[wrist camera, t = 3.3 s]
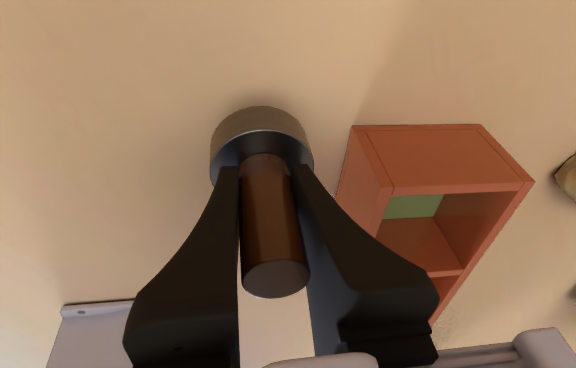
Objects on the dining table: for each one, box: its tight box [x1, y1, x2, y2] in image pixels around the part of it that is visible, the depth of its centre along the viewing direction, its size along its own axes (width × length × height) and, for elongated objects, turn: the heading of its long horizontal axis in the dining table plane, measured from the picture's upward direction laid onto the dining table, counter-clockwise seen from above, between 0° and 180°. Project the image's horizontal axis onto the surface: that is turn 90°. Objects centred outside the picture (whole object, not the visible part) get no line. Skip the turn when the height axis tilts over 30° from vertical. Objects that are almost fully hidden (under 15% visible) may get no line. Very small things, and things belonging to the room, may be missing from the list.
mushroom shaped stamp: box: [210, 106, 314, 299], centre depth 14 cm, size 4×4×7 cm
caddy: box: [335, 124, 535, 327], centre depth 23 cm, size 8×15×5 cm, turn 176°
